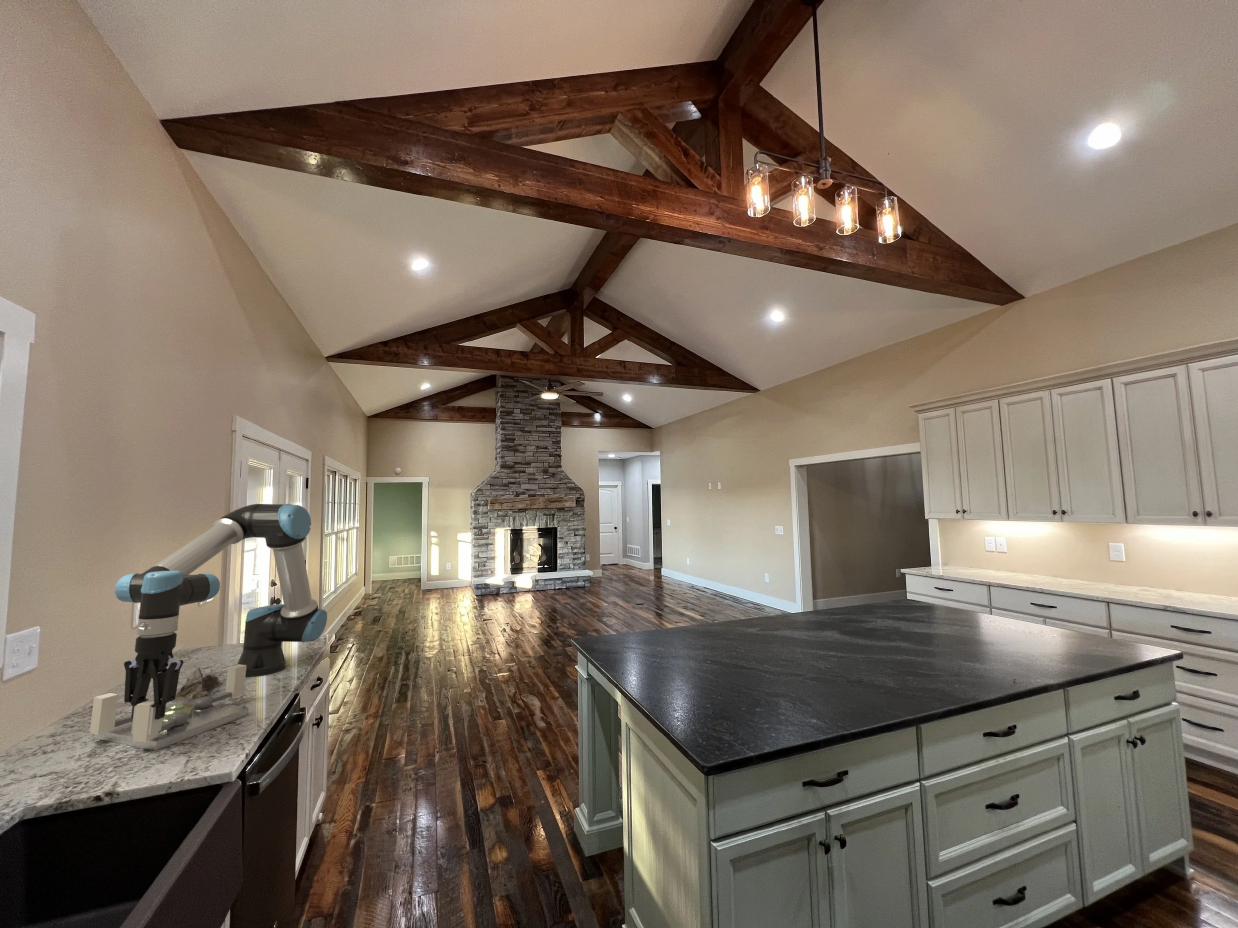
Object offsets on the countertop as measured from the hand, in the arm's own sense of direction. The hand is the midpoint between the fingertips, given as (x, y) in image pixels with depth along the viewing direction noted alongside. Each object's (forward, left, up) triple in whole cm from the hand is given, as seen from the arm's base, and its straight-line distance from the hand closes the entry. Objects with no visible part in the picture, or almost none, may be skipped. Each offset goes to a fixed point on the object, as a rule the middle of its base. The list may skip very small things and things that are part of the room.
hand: (146, 731), depth 122 cm
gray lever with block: (-23, -9, -2) cm, 25 cm away
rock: (-32, -28, -5) cm, 43 cm away
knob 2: (-4, -1, -2) cm, 5 cm away
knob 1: (-4, -15, -2) cm, 15 cm away
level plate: (-12, -9, -4) cm, 15 cm away
